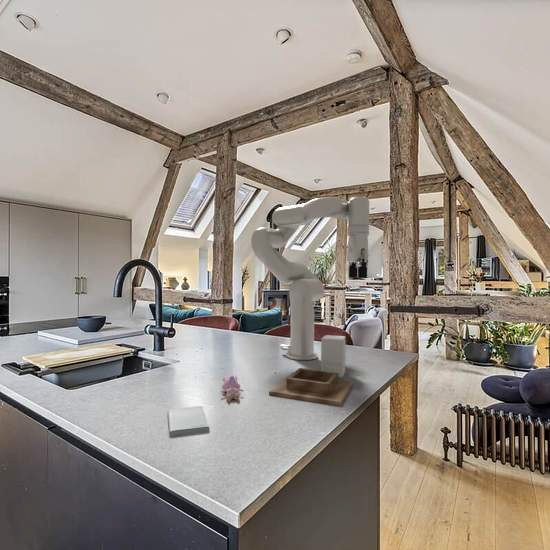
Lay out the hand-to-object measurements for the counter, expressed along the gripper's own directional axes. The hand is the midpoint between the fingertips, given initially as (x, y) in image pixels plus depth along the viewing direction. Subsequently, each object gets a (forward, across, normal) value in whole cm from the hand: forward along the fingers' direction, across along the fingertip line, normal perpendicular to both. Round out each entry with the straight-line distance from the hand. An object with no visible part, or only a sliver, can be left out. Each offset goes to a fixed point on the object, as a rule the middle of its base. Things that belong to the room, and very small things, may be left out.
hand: (357, 277), depth 132 cm
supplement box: (+33, +9, -12) cm, 36 cm away
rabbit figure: (+33, +26, -46) cm, 62 cm away
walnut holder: (+33, +24, -22) cm, 46 cm away
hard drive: (+33, +44, -56) cm, 79 cm away
